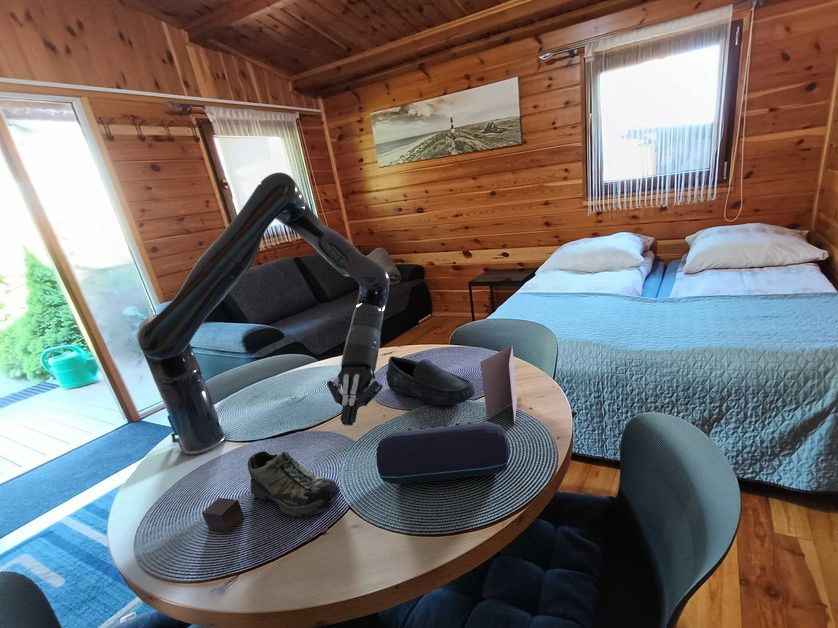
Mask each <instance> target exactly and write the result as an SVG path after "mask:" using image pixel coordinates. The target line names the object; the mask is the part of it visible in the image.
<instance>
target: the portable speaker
mask: <svg viewBox="0 0 838 628" xmlns="http://www.w3.org/2000/svg"><path fill="white" fill-rule="evenodd" d="M508 440H509V439H508V437H507V435H506V433H505V431H504V428H503V427H502V425H499V424H497V423H492V422H490V421H483V422H481V421H480V422H474V423H472V422H471V421H469V422H468V421H467V422H466V423H464V424H463V423H462V424H460V423H455V424H453V425H448V424H443V425H442V426H436V425H432V426H431V427H422V426H421V427H419V428H418V429H417V428H415V429H413V428H408V429H406V430H398V431H393V432H391V433H389V434H387V435H386V436H384V437H382V438H381V439H380V441H379V442H378V444H377V447H376V452H375V453H376V454H375V455H376V467H377V472H378V474H379V477H380V479H381V480H382V481H383V482H384V483H386V484H395V485H396V484H397V485H407V484H417V483H418V484H419V483H426V482H436V481H447V480H455V479H456V480H457V479H464V478H474V477H482V476H483V477H484V476H491V475H495V474H499V473H502V472H504V471H506V469H507V467H508V460H509V457H510V447H509V441H508Z"/></svg>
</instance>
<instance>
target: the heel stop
mask: <svg viewBox="0 0 838 628" xmlns="http://www.w3.org/2000/svg"><path fill="white" fill-rule="evenodd" d="M201 514H202V517H203V519H204V521H205V524H206V526H207V528H208V530H209V531H214V532H222V533H230V532H231V530H233V529H234V528H235V527H236V526H237V525H238V523H240V522H241V521H242V520H243V519H244V517H245V515H244V512H243V510H242V506H241V504H240V502H239V499H237V498H226V497H217V498H216V499H215V500H214V501H213V502H212V503H210V505H209V506H207V507H206V508H205V509H204V510H203V511H202V512H201Z"/></svg>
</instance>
